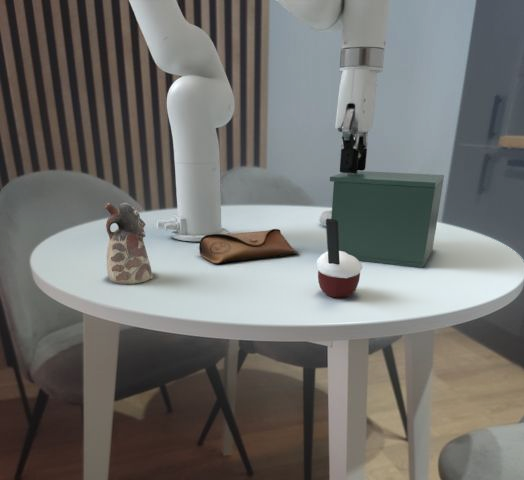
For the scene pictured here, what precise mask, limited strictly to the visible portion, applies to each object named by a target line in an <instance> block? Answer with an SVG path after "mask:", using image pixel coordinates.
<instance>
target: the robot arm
mask: <svg viewBox="0 0 524 480" xmlns="http://www.w3.org/2000/svg"><path fill="white" fill-rule="evenodd" d="M274 1H275V2H277V3H278V4H279V5H280V6H281V7H282V8H283V9H285V10H286V11H287V12H288V13H290V14H291V15H293V17H295V18H296V19H297V20H299V21H300V22H301V23H303V25H304V24H305V25H307V26H308V27H309V28H311V29H313V30H314V31H315V32H318V33H322V34H329V33H330V34H331V33H335V32H339V31H341V45H340V57H339V73H341V77H340V82H339V89H338V98H337V106H336V114H335V115H336V116H335V127H334V128H335V130H336V132H338V133H342V136H341V145H340V158H339V159H340V160H339V161H340V162H339V172H340V174H341V173H356V172H357V168H358V171H366V165H367V156H368V155H367V153H368V136H369V135H368V133H369V132H370V131H372V128H373V125H374V119H375V118H374V117H375V108H376V96H377V95H376V93H377V78H378V77H377V76H378V75H377V74H379V73H382V72H383V71H384V61H385V60H384V59H385V49H386V40H387V29H388V18H389V9H390V0H274ZM128 2H129V4H130V6H131V9H132V11H133V13H134V16H135V20H136V22H137V24H138V26H139V28H140V31H141V33H142V35H143V38H144V41H145V43H146V46H147V47H148V50H149V53H150V55H151V57H152V60H153V62H154V63H155V65H156V66H157V68H159V70H161V71H163V72H165V73H167V74H170V75H175V76H180V77H179V78H176V80H175V81H173V83H172V84H171V85H170V87H169V89H168V91H167V95H166V96H167V97H166V110H167V111H166V112H167V116H168V121H169V125H170V130H171V136H172V137H171V138H172V144H173V145H172V146H173V160H174V170H175V171H174V172H175V173H174V175H175V188H176V189H175V191H176V192H175V193H176V208H177V209H176V210H177V214H173V217H171V218H170V219H158V220H156V224H155V225H156V229H157V230H165V231H170V230H171V237H172V238H173V239H175V240H177V241H178V240H179V241H183V242H196V243H197V242H198V243H200V241H201V239H202V238H203V237H204V236H206V235H211V234H230V233H229V230H228V229H227V228H225V227H222V195H221V194H222V191H221V159H220V158H221V153H220V152H221V151H220V143H219V137H218V132H217V128H222V127H224V126H225V125H227V124H228V123H229V122H230V121H231V120H232V118H233V116H234V114H235V113H234V112H235V108H236V104H235V103H236V101H235V95H234V92H233V89H232V87H231V84H230V81H229V79H228V76H227V74H226V71H225V68H224V66H223V64H222V61H221V58H220V55H219V53H218V51H217V48H216V46H215V44H214V41H212V39H211V37H210V36H209V35H208V33H206V31H205V30H203V29H202V28H200V27H199V26H197V25H195V24H192V23H190V22H188V20H186V18H185V16H184V15H183V12H182V10H181V8H180V6H179V4H178V1H177V0H128ZM359 150H360V151H361V152H362V155H363V156H362V158H361V160H359V161H358V156H359Z"/></svg>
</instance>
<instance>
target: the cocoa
mask: <svg viewBox="0 0 524 480" xmlns="http://www.w3.org/2000/svg"><path fill="white" fill-rule="evenodd" d="M325 228H326V229H325V230H326V232H325V233H326V248H327V250H326V251H325V252H323V253H322V254H321V255H320V256H319V257H318V258H317V260H316V266H315V267H316V269H317V279H318V284H319V288H320V290H321V291H322V292H323V293H324V294H325V295H327V296H328V297H331V298H337V299H339V298H340V299H343V298H347V297H349V296H350V295H352V294H354V292H356V290H357V288H358V285H359V282H360V278H361V272H362V270H363V265H362V263H361V261H359V260H358V259H357V258H355V257H354V256H352V255H349V254H347V253H346V252H343V251H339V236H338V221H337V220H334V219H326V227H325Z"/></svg>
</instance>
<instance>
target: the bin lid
mask: <svg viewBox="0 0 524 480" xmlns="http://www.w3.org/2000/svg"><path fill="white" fill-rule="evenodd" d="M362 156H363V155H362V152H361V151H360V150H359V156H358V161H359V160H361V158H362ZM444 178H445V175H444V174H432V173H431V174H429V173H407V172H390V171H389V172H388V171H369V170H368V171H367V170H363V171H361V170H358V168H357V172H356V173H341V172H340V173H338V174H334V175H332V176H329V182H333V183H334V182H349V183H366V184H384V185H401V186H418V187H436V186H437V185H438V184H439V183H440V182H441V181H442V180H443V181H444Z"/></svg>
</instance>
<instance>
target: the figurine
mask: <svg viewBox="0 0 524 480" xmlns="http://www.w3.org/2000/svg"><path fill="white" fill-rule="evenodd" d="M104 208H105V210H107V211H108V213H109V214H110V215H109V217H108V218H107V220H106V224H105V229H106V232H107V234H108V238H109V241H108V245H107V252H106V272H107V276H108V279H109V281H110V282H112V283H115V284H120V285H121V284H123V285H133V284H139V283H144V282H146V281H149V280H151V279H153V278H154V276H153V272H152V271H153V270H152V267H151V263H150V260H149V257H148V252H147V249H146V244H145V242H144V239H145V237H146V233H145V229H144V228H145V227H146V223H145V221H144V220H143V219H142V218H141V216H140V213H139V211H138V210H137V209H136V208H135V207H134V206H133V205H131V204H130V203H128V202H121V203H119V205H118V207H117V208H116V207H115V206H114V205H113V204H111V202H108V203H106V204H105V207H104ZM113 224H116V225H117V229H116V230H115V231H112V230H111V226H112V225H113Z"/></svg>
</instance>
